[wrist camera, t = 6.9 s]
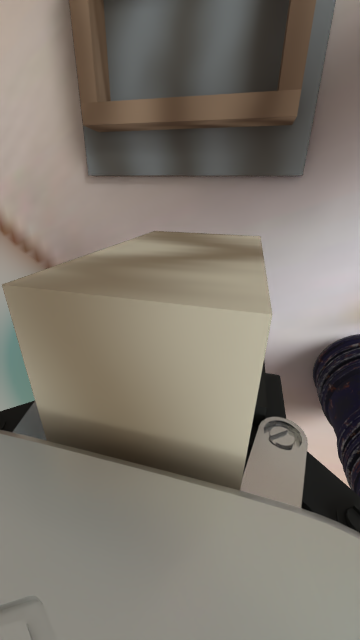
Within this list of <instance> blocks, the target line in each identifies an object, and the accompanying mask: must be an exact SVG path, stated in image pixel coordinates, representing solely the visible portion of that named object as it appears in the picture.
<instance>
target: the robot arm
mask: <svg viewBox="0 0 360 640" xmlns="http://www.w3.org/2000/svg"><path fill="white" fill-rule="evenodd" d="M307 445H308V442H307V437H306V435H305V433H304V431H303V430H302V429H301V428H300V427H299V426H298V425H296V424H295V423H294V422H292V421H290V420H288V419H286V414H285V407H284V400H283V393H282V386H281V379H280V376H279V375H274V374H268V373H265V363H264V362H263V368H262V373H261V379H260V384H259V390H258V395H257V401H256V406H255V412H254V417H253V422H252V428H251V433H250V439H249V444H248V450H247V455H246V461H245V466H244V472H243V477H242V483H241V488H240V490H236V489H232V488H229V487H225V486H221V485H217V484H213V483H210V482H206V481H202V480H198V479H194V478H191V477H187V476H183V475H179V474H175V473H172V472H168V471H164V470H160V469H156V468H152V467H148V466H145V465H141V464H137V463H133V462H129V461H125V460H121V459H117V458H113V457H109V456H106V455H102V454H98V453H94V452H90V451H86V450H82V449H78V448H74V447H70V446H66V445H62V444H58V443H54V442H50V441H47V440H46V436H45V433H44V429H43V426H42V422H41V419H40V415H39V412H38V408H37V405H36V401H32V402H29V403H26V404H23V405H19V406H16V407H13V408H10V409H7V410H3V411H0V640H360V497H359V496H358V495H357V494H356V493H355V492H354V491H353V490H351V489H350V488H349V487H348V486H347V485H346V484H344V483H343V482H342V481H341V480H340V479H339V478H338V477H336V476H335V475H334V474H333V473H332V472H331V471H329V470H328V469H327V468H326V467H325V466H324V465H322V464H321V463H320V462H319V461H318V460H317V459H316V458H314V457H313V456H312V455H311V454H310V453H309V452H307Z"/></svg>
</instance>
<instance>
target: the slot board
mask: <svg viewBox="0 0 360 640" xmlns="http://www.w3.org/2000/svg"><path fill="white" fill-rule="evenodd" d="M335 2H336V0H69V6H70V15H71V24H72V33H73V42H74V50H75V59H76V68H77V77H78V86H79V95H80V104H81V113H82V121H83V130H84V139H85V148H86V157H87V166H88V175H92V176H302V175H303V171H304V166H305V161H306V155H307V150H308V145H309V139H310V134H311V129H312V123H313V118H314V113H315V108H316V102H317V97H318V92H319V86H320V81H321V76H322V70H323V65H324V60H325V55H326V49H327V44H328V39H329V33H330V28H331V23H332V17H333V12H334V7H335Z"/></svg>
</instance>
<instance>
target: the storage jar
mask: <svg viewBox="0 0 360 640" xmlns="http://www.w3.org/2000/svg"><path fill="white" fill-rule="evenodd" d="M313 378H314V382H315V385H316V387H317V393H318V397H319V400H320V403H321V406H322V410H323V412H324V414H325V416H326V418H327V420H328V421H329V423H330V424H331V426H332V427H333V428H334V431H335V434H336V436H337V448H338V455H339V459H340V461H341V463H342V465H343V469H344V472H345V475H346V478H347V481H348V483H349V486H350V488H351V490H353V491H354V492H355V493H356V494H357V495H358V496H359V497H360V334H359V335H353V336H349V337H346V338H343V339H341V340H338V341H336V342H335V343H333V344H331V345H330V346H329V347H327V348H326V349H325V350H324V351H323V352H322V353H321V354H320V355H319V357H318V358H317V360H316V362H315V365H314V369H313Z"/></svg>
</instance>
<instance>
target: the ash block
mask: <svg viewBox="0 0 360 640" xmlns="http://www.w3.org/2000/svg"><path fill="white" fill-rule="evenodd" d="M2 287H3V290H4V294H5V297H6V301H7V304H8V307H9V311H10V314H11V318H12V321H13V325H14V328H15V332H16V335H17V339H18V342H19V346H20V349H21V353H22V356H23V360H24V363H25V366H26V370H27V374H28V377H29V380H30V384H31V387H32V391H33V394H34V397H35V401H36V405H37V408H38V412H39V415H40V419H41V422H42V426H43V429H44V433H45V436H46V440H47V441H50V442H54V443H58V444H62V445H66V446H70V447H74V448H78V449H82V450H86V451H90V452H94V453H98V454H102V455H106V456H109V457H113V458H117V459H121V460H125V461H129V462H133V463H137V464H141V465H145V466H148V467H152V468H156V469H160V470H164V471H168V472H172V473H175V474H179V475H183V476H187V477H191V478H194V479H198V480H202V481H206V482H210V483H213V484H217V485H221V486H225V487H229V488H232V489H236V490H240V488H241V483H242V477H243V472H244V466H245V461H246V455H247V450H248V444H249V439H250V433H251V428H252V422H253V417H254V412H255V406H256V401H257V395H258V390H259V384H260V379H261V373H262V368H263V362H264V357H265V351H266V346H267V340H268V335H269V330H270V324H271V319H272V310H271V303H270V297H269V290H268V283H267V277H266V270H265V264H264V257H263V251H262V244H261V237H260V236H243V235H223V234H203V233H182V232H162V231H154V232H151V233H148V234H145V235H142V236H139V237H137V238H134V239H131V240H128V241H125V242H122V243H119V244H117V245H114V246H111V247H108V248H105V249H102V250H99V251H97V252H94V253H91V254H88V255H85V256H82V257H79V258H77V259H74V260H71V261H68V262H65V263H62V264H59V265H57V266H54V267H51V268H48V269H45V270H43V271H39V272H37V273H34V274H31V275H28V276H25V277H22V278H19V279H17V280H14V281H11V282H8V283H5V284H3V285H2Z"/></svg>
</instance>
